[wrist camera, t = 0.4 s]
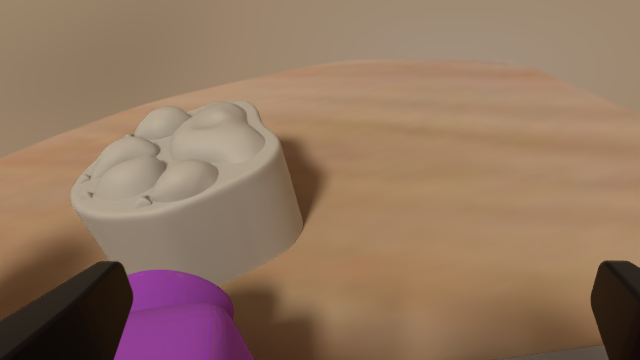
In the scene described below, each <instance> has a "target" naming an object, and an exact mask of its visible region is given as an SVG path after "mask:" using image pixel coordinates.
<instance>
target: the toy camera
mask: <svg viewBox="0 0 640 360" xmlns="http://www.w3.org/2000/svg"><path fill="white" fill-rule="evenodd" d="M127 277H128V279H129V282H130V285H131V288H132V291H133V304H132V307H131V310H130V313H129V316H128V319H127V322H126V325H125V328H124V331H123V334H122V337H121V340H120V343H119V346H118V349H117V352H116V355H115V358H114V360H254V358H253V356H252V354H251V352H250V350H249V348H248V346H247V344H246V343H245V341H244V339H243V337H242V335H241V333H240V331H239V330H238V328H237V326H236V325H235V323H234V322H233V315H234V309H233V304H232V302H231V300H230V298H229V297H228V295H227V294H226V293H225V292H224V291H223V290H222V289H221V288H219V287H218V286H216V285H215V284H213V283H212V282H210V281H208V280H206V279H204V278H201V277H199V276H196V275H193V274H189V273H185V272H180V271H174V270H146V271H140V272H136V273H132V274H129V275H127Z"/></svg>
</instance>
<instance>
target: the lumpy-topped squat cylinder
mask: <svg viewBox="0 0 640 360" xmlns="http://www.w3.org/2000/svg"><path fill="white" fill-rule="evenodd" d="M71 204H72V206H73V208H74V210H75V211H76V213H77V214H78V216H79V217H80V219H81V220H82V222H83V223H84V225H85V226H86V227H87V229H88V230H89V232H90V233H91V235H92V236H93V237H94V239H95V240H96V242H97V243H98V245H99V246H100V248H101V249H102V251H103V252H104V253H105V255H106V256H107V258H108V259H109V261H118V262H120V263H122V264H123V266H124V268H125V271H126V274H127V275H129V274H132V273H136V272H140V271H146V270H174V271H180V272H185V273H189V274H193V275H196V276H199V277H201V278H204V279H206V280H208V281H210V282H212V283H213V284H215V285H216V286H219V285H222V284H224V283H226V282H229V281H231V280H233V279H235V278H238V277H240V276H242V275H244V274H246V273H248V272H250V271H252V270H254V269H256V268H258V267H260V266H261V265H263V264H265V263H267V262H269V261H271V260H272V259H274V258H276V257H278V256H279V255H281V254H282V253H284V252H285V251H286V250H288V249H289V248H290V247H291V246H292V245H293V244H294V243H295V242H296V240H297V239H298V237H299V236H300V234H301V232H302V229H303V220H302V216H301V213H300V209H299V205H298V202H297V198H296V195H295V191H294V188H293V184H292V180H291V177H290V173H289V170H288V166H287V163H286V160H285V157H284V154H283V149H282V145H281V142H280V140H279V138H278V137H277V136H276V135H275V134H274V133H273V132H272V131H271V130H269V129H268V128H267V127H266V126H265V125H264V124H263V123H262V121H261V118H260V115H259V112H258V110H257V109H256V107H255V106H254V105H253V104H251V103H249V102H245V101H223V102H217V103H213V104H209V105H206V106H202V107H199V108H196V109H193V110H191V111H187V112H185V111H183V110H182V109H180V108H177V107H173V106H167V107H162V108H158V109H156V110H153V111H152V112H150V113H149V114H148V115H147V116H146V117H145V118H144V119H143V120H142V121H141V123H140V124H139V125H138V127H137V129H136V131H135V133H134V134H127V135H125V137H124V138H121V139H119V140H116V141H114V142H112V143H111V144H109V145H108V146H107V147H106V148H105V149H104V150H103V151H102V153H101V154H100V156H99V158H97V159H96V160H95V161H94V162H93V163H92V164H91V165H90V166H89V167H88V168H87V169H86V170H85V171H84V172H83V174H82V175H81V176H80V177H79V178H78V180H77V181H76V182H75V184H74V186H73V187H72V190H71Z"/></svg>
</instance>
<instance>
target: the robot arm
mask: <svg viewBox="0 0 640 360" xmlns="http://www.w3.org/2000/svg"><path fill="white" fill-rule="evenodd" d="M132 304H133V291H132V288H131V285H130V282H129V279H128V277H127V274H126V271H125V268H124V266H123V264H122V263H120V262H118V261H101V262H98V263H96V264H94V265H93V266H91V267H89V268H88V269H86V270H84V271H83V272H81V273H79V274H78V275H76V276H74V277H73V278H71V279H69V280H68V281H66V282H64V283H63V284H61V285H60V286H58V287H56V288H55V289H53V290H51V291H50V292H48V293H46V294H45V295H43V296H41V297H40V298H38V299H36V300H35V301H33V302H31V303H30V304H28V305H26V306H25V307H23V308H21V309H20V310H18V311H17V312H15V313H13V314H12V315H10V316H8V317H7V318H5V319H3V320H2V321H0V360H114V358H115V355H116V352H117V349H118V346H119V343H120V340H121V337H122V334H123V331H124V328H125V325H126V322H127V319H128V316H129V313H130V310H131V307H132ZM591 307H592V311H593V314H594V317H595V320H596V323H597V326H598V329H599V332H600V335H601V338H602V341H603V344H604V347H605V350H606V353H607V356H608V359H609V360H640V268H639V267H638V266H636V265H634V264H633V263H631V262H629V261H603V262H602V263H601V264H600V265H599V268H598V271H597V275H596V278H595V282H594V285H593V289H592V293H591Z"/></svg>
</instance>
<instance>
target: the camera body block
mask: <svg viewBox="0 0 640 360" xmlns="http://www.w3.org/2000/svg"><path fill="white" fill-rule="evenodd" d="M494 360H609V359H608V356H607V353H606V350H605V347H604V345H597V346H590V347H582V348H575V349H568V350H560V351H553V352H546V353H538V354H531V355H524V356H516V357H509V358H502V359H494Z"/></svg>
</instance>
